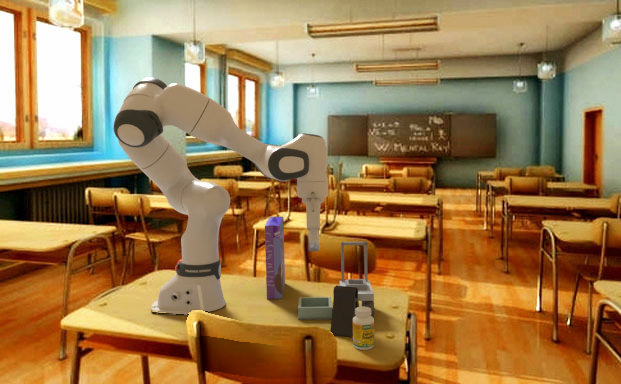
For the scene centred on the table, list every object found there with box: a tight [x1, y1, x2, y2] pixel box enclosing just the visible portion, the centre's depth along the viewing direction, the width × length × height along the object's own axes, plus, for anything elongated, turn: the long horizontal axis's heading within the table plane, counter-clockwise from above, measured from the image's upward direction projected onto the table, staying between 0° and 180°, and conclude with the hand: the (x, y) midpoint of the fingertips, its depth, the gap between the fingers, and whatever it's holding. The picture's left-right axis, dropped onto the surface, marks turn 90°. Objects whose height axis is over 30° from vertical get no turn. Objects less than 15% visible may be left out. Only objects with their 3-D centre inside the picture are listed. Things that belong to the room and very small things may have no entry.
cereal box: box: [264, 216, 286, 300], centre depth 180 cm, size 17×5×24 cm, turn 179°
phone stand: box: [329, 285, 360, 338], centre depth 144 cm, size 9×6×12 cm, turn 157°
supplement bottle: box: [352, 306, 375, 351], centre depth 134 cm, size 5×5×10 cm
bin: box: [297, 296, 333, 321], centre depth 158 cm, size 10×10×4 cm
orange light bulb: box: [306, 227, 321, 252], centre depth 155 cm, size 4×4×8 cm
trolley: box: [339, 241, 375, 319], centre depth 156 cm, size 9×14×20 cm, turn 0°
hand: (313, 238), depth 156 cm, fingers closed on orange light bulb, 3 cm apart
